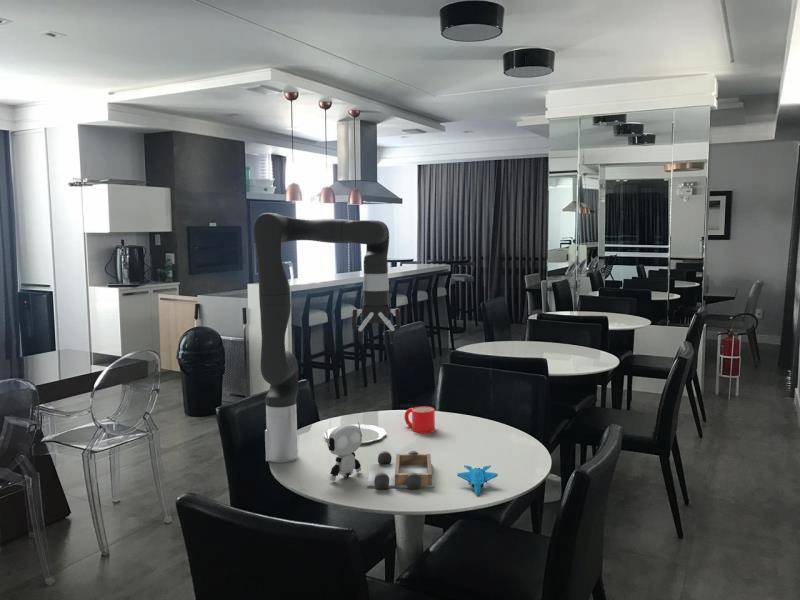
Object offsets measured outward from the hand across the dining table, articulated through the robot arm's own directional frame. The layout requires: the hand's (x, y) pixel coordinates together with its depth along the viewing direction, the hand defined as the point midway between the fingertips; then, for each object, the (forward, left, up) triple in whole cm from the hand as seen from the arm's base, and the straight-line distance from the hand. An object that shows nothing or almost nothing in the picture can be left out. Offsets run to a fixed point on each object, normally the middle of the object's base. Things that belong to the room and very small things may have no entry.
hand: (376, 343), depth 195 cm
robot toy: (-8, -13, -36) cm, 39 cm away
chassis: (+7, -12, -36) cm, 39 cm away
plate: (-9, +25, -37) cm, 45 cm away
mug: (+12, +32, -36) cm, 50 cm away
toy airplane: (+23, -19, -36) cm, 47 cm away
